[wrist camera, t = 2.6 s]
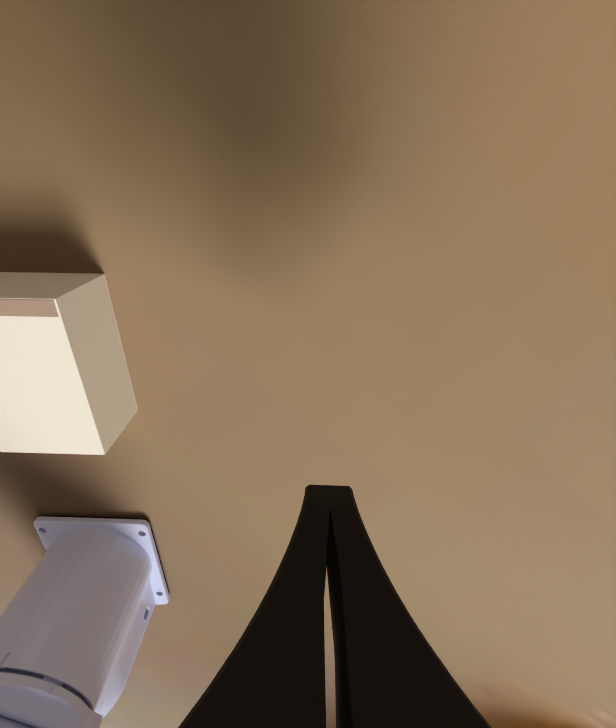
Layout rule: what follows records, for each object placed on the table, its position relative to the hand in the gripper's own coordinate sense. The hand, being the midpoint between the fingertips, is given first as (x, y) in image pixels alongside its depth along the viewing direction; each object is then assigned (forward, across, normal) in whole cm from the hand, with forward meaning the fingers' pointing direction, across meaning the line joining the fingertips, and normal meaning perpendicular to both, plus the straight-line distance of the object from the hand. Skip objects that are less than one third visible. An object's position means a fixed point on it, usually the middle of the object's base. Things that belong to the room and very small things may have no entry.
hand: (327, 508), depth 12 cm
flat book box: (+10, +17, -1) cm, 19 cm away
